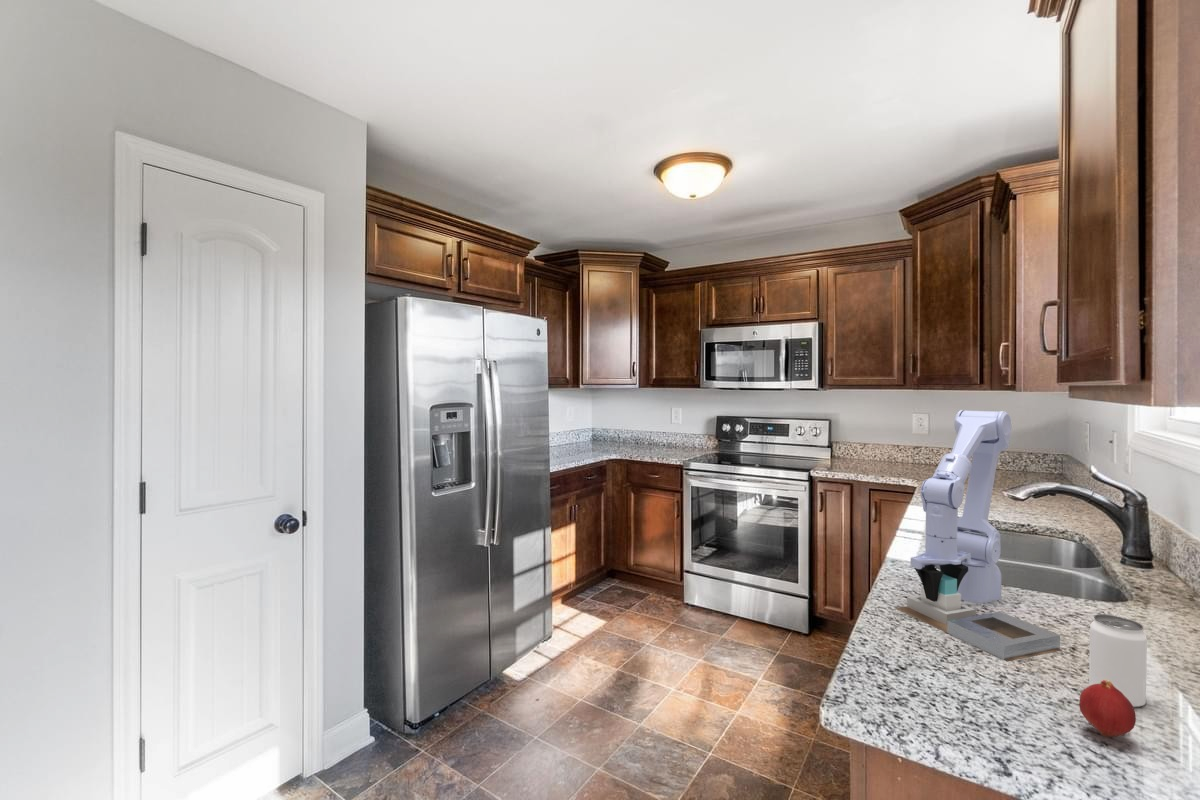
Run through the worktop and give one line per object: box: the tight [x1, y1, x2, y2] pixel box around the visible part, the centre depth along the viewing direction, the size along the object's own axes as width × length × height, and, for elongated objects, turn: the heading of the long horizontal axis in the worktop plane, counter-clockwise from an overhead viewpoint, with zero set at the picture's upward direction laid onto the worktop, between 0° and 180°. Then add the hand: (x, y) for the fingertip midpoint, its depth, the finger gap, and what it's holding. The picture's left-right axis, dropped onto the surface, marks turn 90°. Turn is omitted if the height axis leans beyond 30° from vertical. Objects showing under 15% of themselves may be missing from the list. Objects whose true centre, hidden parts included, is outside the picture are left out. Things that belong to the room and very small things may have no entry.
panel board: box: [895, 605, 1063, 667], centre depth 108 cm, size 14×24×1 cm, turn 17°
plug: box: [920, 574, 962, 612], centre depth 114 cm, size 4×6×8 cm, turn 17°
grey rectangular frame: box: [906, 594, 977, 625], centre depth 114 cm, size 8×10×2 cm
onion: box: [1078, 680, 1137, 738], centre depth 75 cm, size 6×6×8 cm
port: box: [946, 611, 1061, 661], centre depth 102 cm, size 14×11×2 cm
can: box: [1088, 613, 1148, 708], centre depth 85 cm, size 6×6×12 cm
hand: (940, 598), depth 114 cm, fingers open, 4 cm apart
